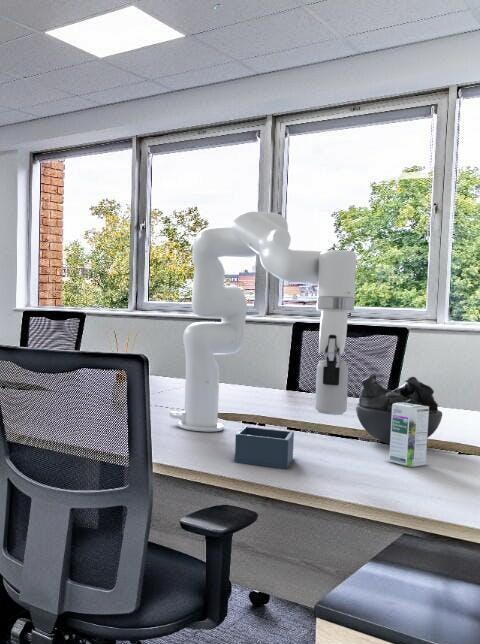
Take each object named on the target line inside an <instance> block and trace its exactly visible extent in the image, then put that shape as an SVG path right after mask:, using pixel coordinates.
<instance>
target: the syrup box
mask: <svg viewBox="0 0 480 644" xmlns="http://www.w3.org/2000/svg"><path fill="white" fill-rule="evenodd" d="M428 417H429V406H421V405H415V404H409V403H394V404H392V416H391V437H390V444H389V455H388V462H389V463H394V464H397V465H402V466H404V467H405V466H406V467H409V468H414V467H422V466H426V465H427V451H428V450H427V449H428V438H427V433H428Z"/></svg>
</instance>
